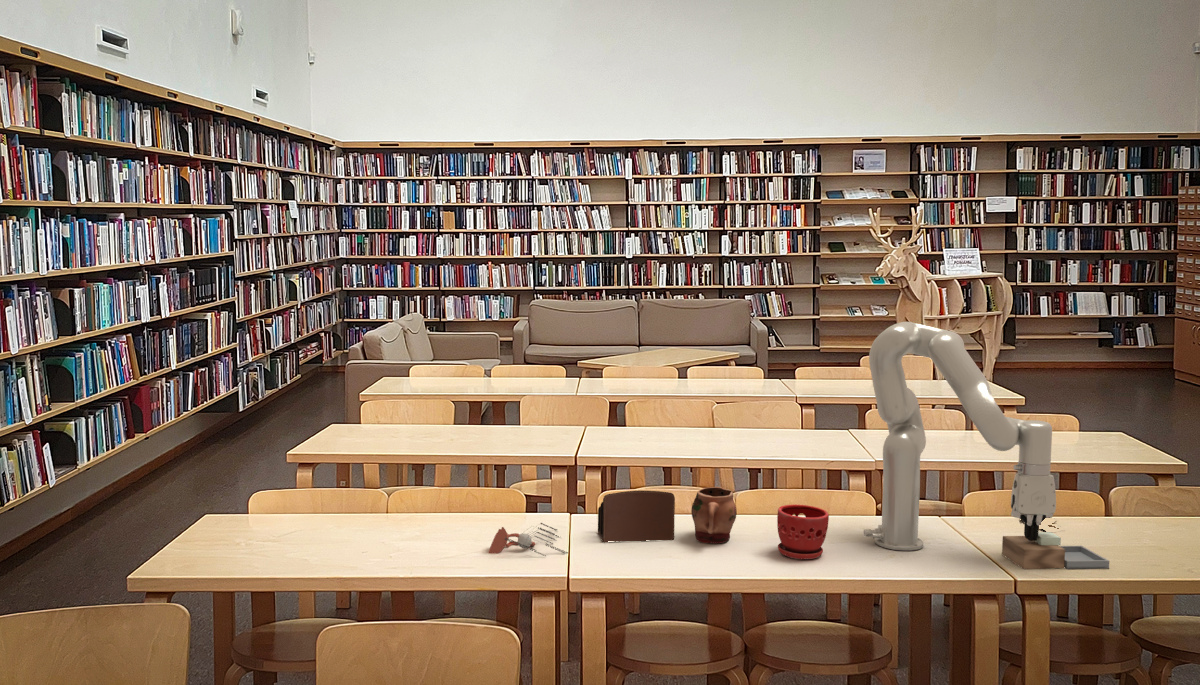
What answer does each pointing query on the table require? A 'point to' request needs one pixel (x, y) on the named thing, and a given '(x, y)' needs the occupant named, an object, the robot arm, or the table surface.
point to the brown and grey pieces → (523, 540)
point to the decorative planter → (713, 514)
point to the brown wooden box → (1032, 553)
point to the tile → (1048, 538)
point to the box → (1083, 558)
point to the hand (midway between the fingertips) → (1030, 539)
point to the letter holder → (637, 516)
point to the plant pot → (801, 531)
